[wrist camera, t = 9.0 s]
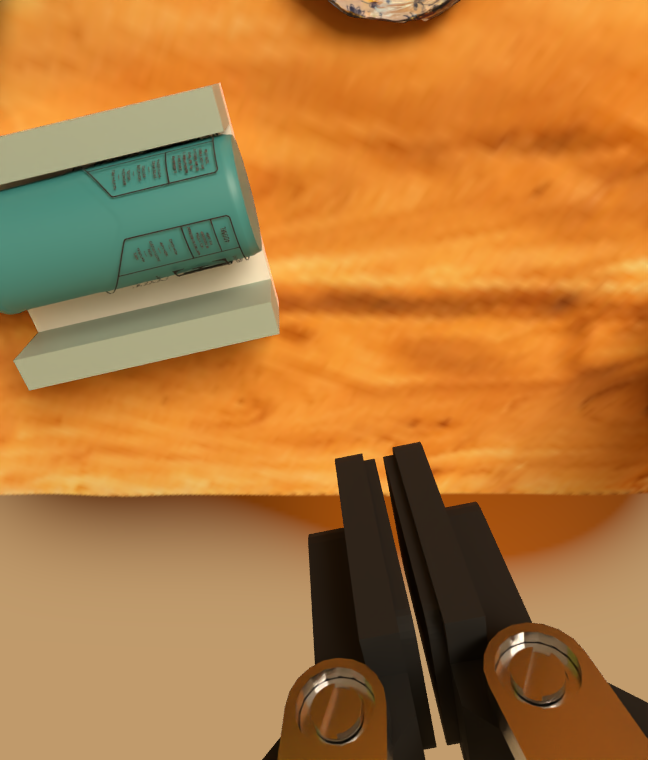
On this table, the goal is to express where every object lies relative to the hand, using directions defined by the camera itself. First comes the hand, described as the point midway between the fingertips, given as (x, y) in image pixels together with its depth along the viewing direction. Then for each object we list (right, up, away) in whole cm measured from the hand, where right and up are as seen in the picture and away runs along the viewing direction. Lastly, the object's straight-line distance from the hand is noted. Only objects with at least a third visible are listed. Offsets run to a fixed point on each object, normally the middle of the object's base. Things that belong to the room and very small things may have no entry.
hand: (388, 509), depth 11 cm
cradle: (-13, +12, +24) cm, 29 cm away
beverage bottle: (-4, +13, +19) cm, 23 cm away
